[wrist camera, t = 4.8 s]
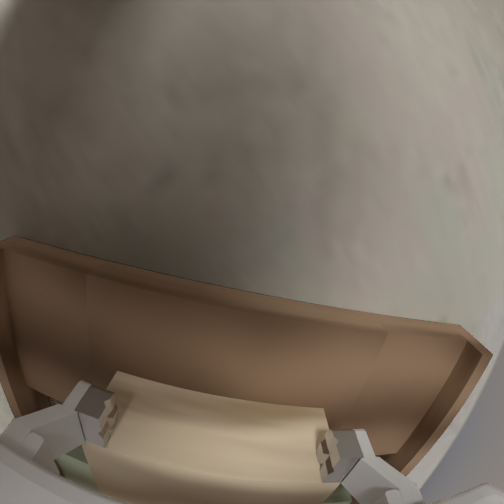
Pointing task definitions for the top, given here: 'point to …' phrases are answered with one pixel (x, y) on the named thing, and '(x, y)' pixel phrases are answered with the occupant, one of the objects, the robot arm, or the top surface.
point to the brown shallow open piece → (225, 350)
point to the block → (207, 449)
